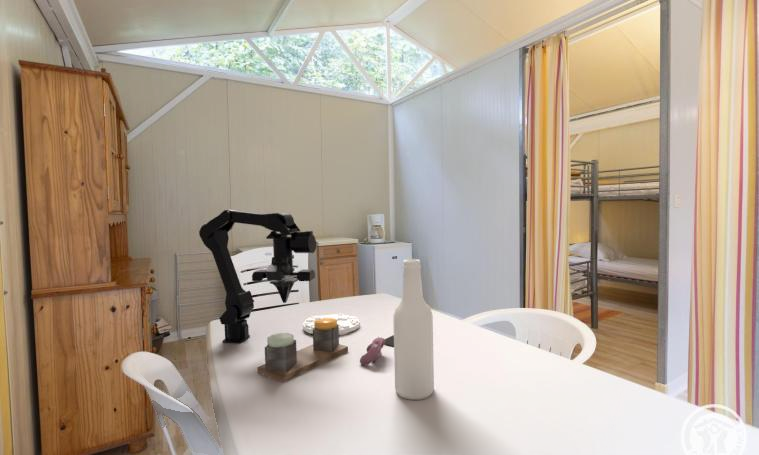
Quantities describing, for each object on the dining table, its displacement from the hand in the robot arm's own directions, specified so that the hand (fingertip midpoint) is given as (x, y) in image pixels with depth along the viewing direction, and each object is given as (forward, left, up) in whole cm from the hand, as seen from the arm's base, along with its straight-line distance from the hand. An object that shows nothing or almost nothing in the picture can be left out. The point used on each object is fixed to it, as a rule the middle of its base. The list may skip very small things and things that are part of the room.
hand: (284, 302), depth 120 cm
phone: (+36, +7, -14) cm, 39 cm away
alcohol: (+42, -28, -13) cm, 52 cm away
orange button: (+15, -6, -11) cm, 20 cm away
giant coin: (+10, +17, -14) cm, 24 cm away
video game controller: (+30, -10, -13) cm, 34 cm away
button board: (+11, -13, -13) cm, 22 cm away
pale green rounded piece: (+7, -21, -11) cm, 25 cm away
